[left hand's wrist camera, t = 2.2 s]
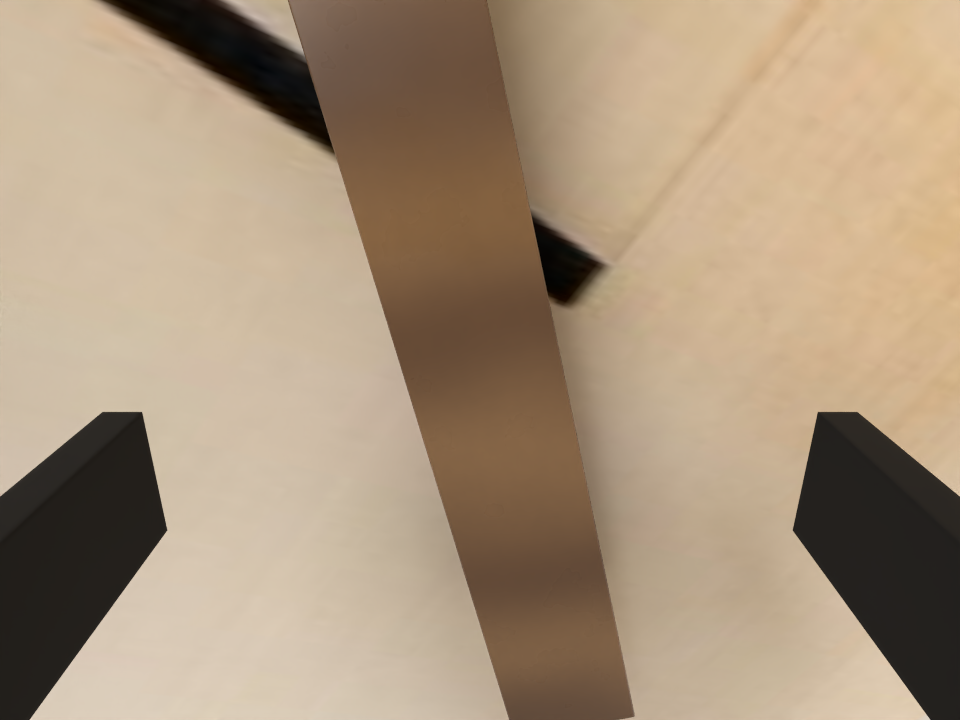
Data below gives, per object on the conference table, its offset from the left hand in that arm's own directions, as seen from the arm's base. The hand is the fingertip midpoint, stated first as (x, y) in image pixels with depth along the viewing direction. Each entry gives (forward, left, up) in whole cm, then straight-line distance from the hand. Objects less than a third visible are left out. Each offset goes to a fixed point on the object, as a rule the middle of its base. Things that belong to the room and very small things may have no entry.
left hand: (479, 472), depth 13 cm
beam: (+2, +18, -16) cm, 24 cm away
